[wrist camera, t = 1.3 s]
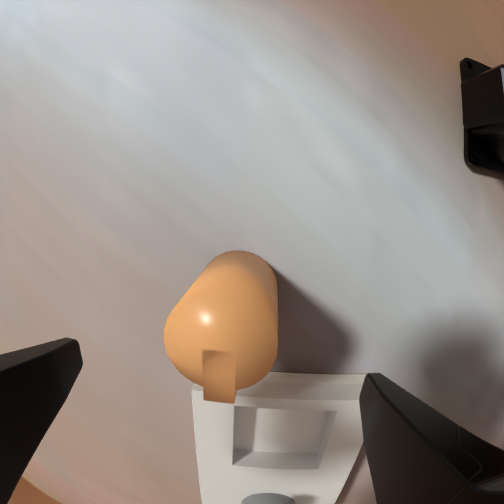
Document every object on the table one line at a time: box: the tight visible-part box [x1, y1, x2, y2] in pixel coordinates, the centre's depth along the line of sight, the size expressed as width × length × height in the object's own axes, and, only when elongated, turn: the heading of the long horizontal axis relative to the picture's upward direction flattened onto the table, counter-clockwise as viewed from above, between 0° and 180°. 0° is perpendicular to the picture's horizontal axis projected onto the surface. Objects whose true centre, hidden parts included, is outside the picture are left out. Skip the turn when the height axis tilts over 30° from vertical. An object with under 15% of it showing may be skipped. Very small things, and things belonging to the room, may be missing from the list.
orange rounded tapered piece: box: [164, 251, 278, 404], centre depth 13 cm, size 4×5×6 cm
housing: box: [192, 372, 367, 504], centre depth 16 cm, size 10×14×6 cm
